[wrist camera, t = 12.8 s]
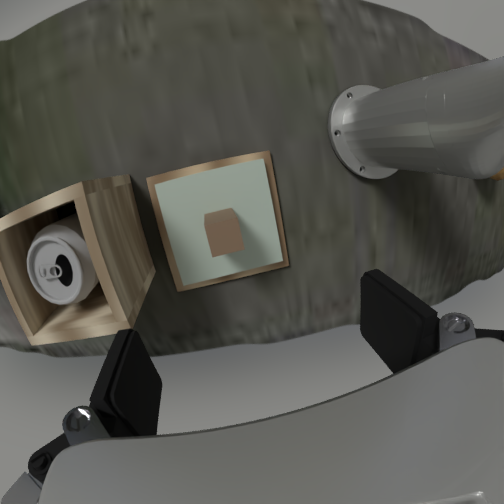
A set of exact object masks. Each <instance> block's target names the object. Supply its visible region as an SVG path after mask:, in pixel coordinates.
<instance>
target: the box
mask: <svg viewBox="0 0 504 504" xmlns="http://www.w3.org/2000/svg"><path fill="white" fill-rule="evenodd" d="M73 202H75V206H76V210H77V214H78V217H79V221H80V225H81V228H82V231H83V235H84V238H85V241H86V244H87V247H88V250H89V253H90V256H91V259H92V262H93V265H94V268H95V271H96V273H97V276H98V279H99V282H98V283H97V284H96V286H95V287H94V288H93V289H92V291H91V292H90V293H89V294H88V296H87V297H86V298H85V299H83V300H81V301H80V302H78V303H71V304H64V305H58V304H55V303H51V302H50V301H48V300H46V299H45V298H43V297H42V296H41V295H40V294H39V293H38V292H37V290H36V289H35V287H34V286H33V284H32V282H31V280H30V277H29V274H28V271H27V256H28V251H29V249H30V247H31V245H32V241H33V240H34V238H35V236H36V235H37V233H38V232H39V231H41V230H42V229H43V228H44V227H46V226H48V225H50V224H52V223H55V222H57V221H59V218H58V215H57V211H56V209H57V208H60V207H62V206H65V205H68V204H70V203H73ZM155 272H156V270H155V267H154V264H153V261H152V258H151V255H150V251H149V248H148V245H147V241H146V238H145V234H144V231H143V227H142V223H141V220H140V216H139V212H138V208H137V205H136V201H135V196H134V192H133V188H132V184H131V180H130V175H121V176H114V177H107V178H101V179H94V180H88V181H82V182H79V183H77V184H74V185H72V186H69V187H67V188H64V189H62V190H60V191H57V192H55V193H52V194H50V195H48V196H46V197H43V198H41V199H39V200H37V201H34V202H32V203H30V204H28V205H26V206H24V207H22V208H20V209H18V210H16V211H14V212H12V213H10V214H8V215H6V216H4V217H2V218H0V279H1V282H2V284H3V287H4V289H5V292H6V294H7V296H8V299H9V301H10V303H11V305H12V308H13V310H14V312H15V314H16V316H17V318H18V320H19V322H20V324H21V326H22V328H23V330H24V332H25V334H26V336H27V338H28V339H29V341H30V343H31V345H40V344H48V343H56V342H64V341H71V340H78V339H85V338H92V337H98V336H104V335H110V334H116V333H117V332H118V330H123V329H129V328H131V329H133V327H134V324H135V322H136V319H137V316H138V314H139V311H140V309H141V306H142V304H143V301H144V299H145V296H146V294H147V291H148V289H149V286H150V284H151V282H152V279H153V277H154V275H155Z"/></svg>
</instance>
